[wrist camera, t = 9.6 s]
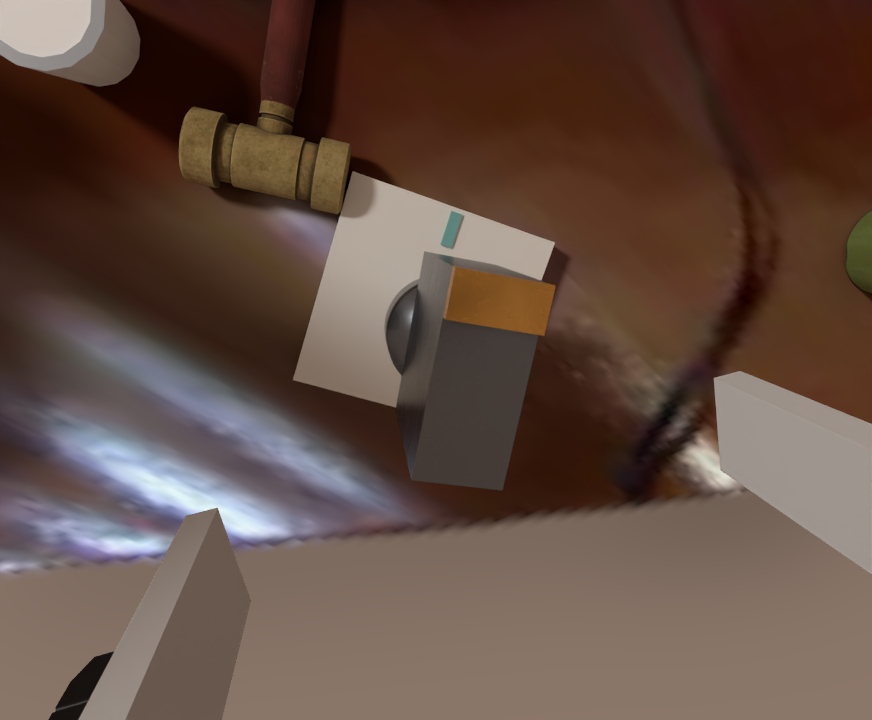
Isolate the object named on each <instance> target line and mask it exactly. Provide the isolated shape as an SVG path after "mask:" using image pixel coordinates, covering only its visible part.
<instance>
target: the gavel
mask: <svg viewBox="0 0 872 720" xmlns="http://www.w3.org/2000/svg"><path fill="white" fill-rule="evenodd" d="M315 1H316V0H272V6H271V13H270V20H269V27H268V33H267V40H266V47H265V54H264V61H263V67H262V74H261V105H260V112H259V114H260V115H261V118H258V122H257V127H256V126H252V125H247V124H243V123H240V124H239V125H236V124H232V123H229V122H228V118H227V116H226V114H224V113H220V112H216V111H211V110H207V109H203V108H199V107H192V108H191V109H190V110H189V111H188V112H187V114H186V116H185V118H184V121H183V124H182V128H181V133H180V140H179V164H180V169H181V173H182V175H183V177H184V178H185V180H186V181H187V182H192V183H196V184H201V185H205V186H210V187H215V188H218V187H219V186H220V184H221V182H226V183H231V184H232V185H233V186H234V187H238V188H242V189H247V190H251V191H256V192H260V193H265V194H270V195H274V196H279V197H283V198H288V199H292V200H296V199H297V198H299V199H304V200H308V201H311V209H316V210H320V211H325V212H329V213H334V214H338V213H339V212H341V209H342V204H343V199H344V194H345V188H346V182H347V176H348V170H349V164H350V157H351V150H352V148H351V146H350V144H348V143H344V142H340V141H336V140H332V139H327V138H323V137H322V139H321V142H320V144H316V143H311V142H307V141H306V140H305V138H302V137H297V136H293V135H292V129H293V127H292V126H290V124H292V123H293V120H294V113H295V109H296V106H297V103H298V100H299V97H300V94H301V90H302V84H303V77H304V71H305V65H306V58H307V52H308V46H309V39H310V33H311V27H312V20H313V14H314V8H315Z"/></svg>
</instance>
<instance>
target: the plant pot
mask: <svg viewBox="0 0 872 720" xmlns="http://www.w3.org/2000/svg"><path fill="white" fill-rule="evenodd" d="M846 270H847V273H848V275H849V277H850V279H851V280H852V282H853V283H854V284H855V285H856V286H857V287H859V288H860V289H862V290H864V291H867V292H870V293H872V211H870V212H869V213H868V214H866V215H865V216H864V217H863V218H862V219H861V220H860V221H859V222H858V223H857V225H856V226H855V227H854V229H853V231H852V232H851V234H850V236H849V239H848V242H847V261H846Z"/></svg>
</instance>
